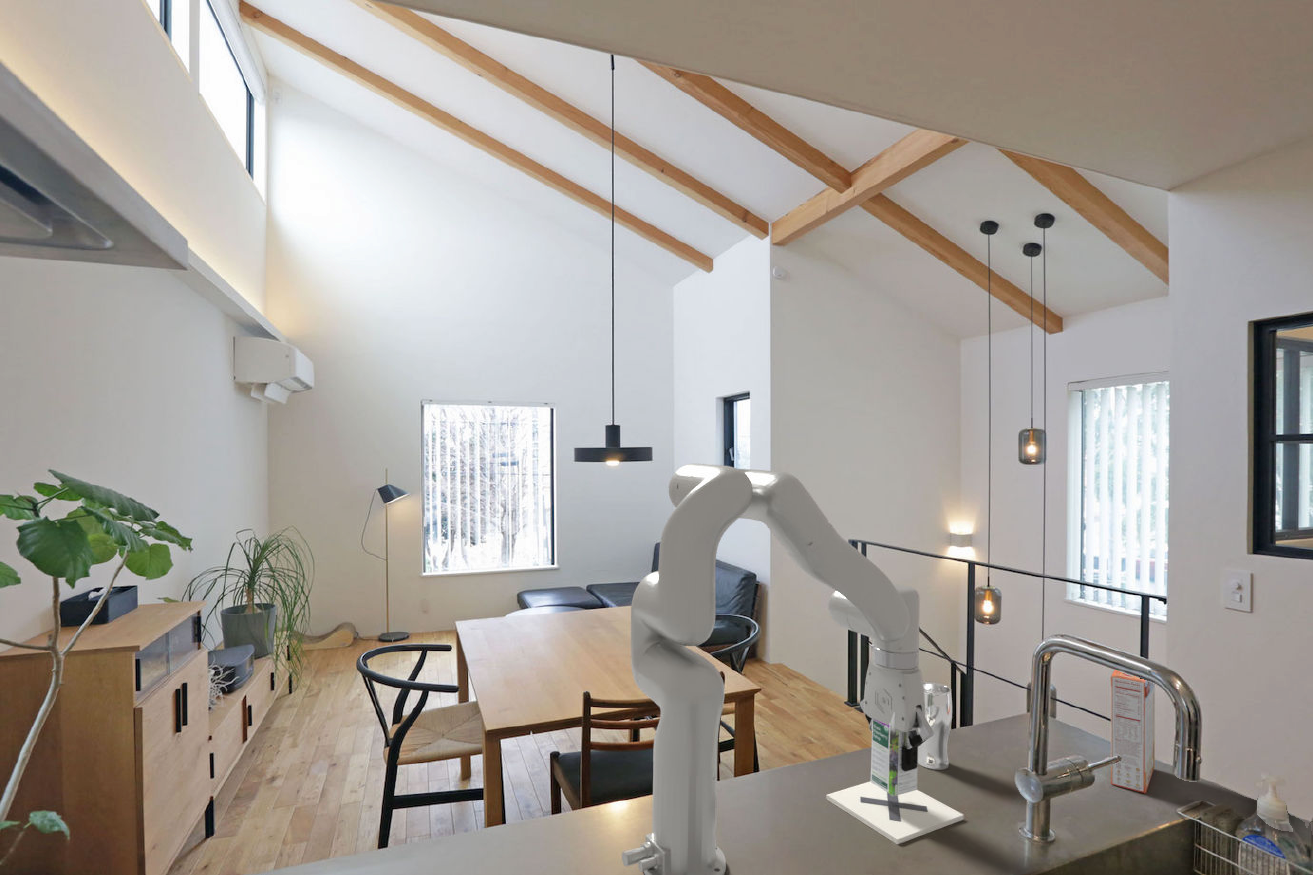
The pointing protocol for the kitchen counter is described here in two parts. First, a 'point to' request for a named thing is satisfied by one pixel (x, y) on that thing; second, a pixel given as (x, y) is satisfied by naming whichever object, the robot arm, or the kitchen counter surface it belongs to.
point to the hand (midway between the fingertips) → (894, 760)
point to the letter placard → (894, 811)
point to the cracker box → (1132, 731)
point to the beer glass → (936, 726)
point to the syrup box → (890, 760)
